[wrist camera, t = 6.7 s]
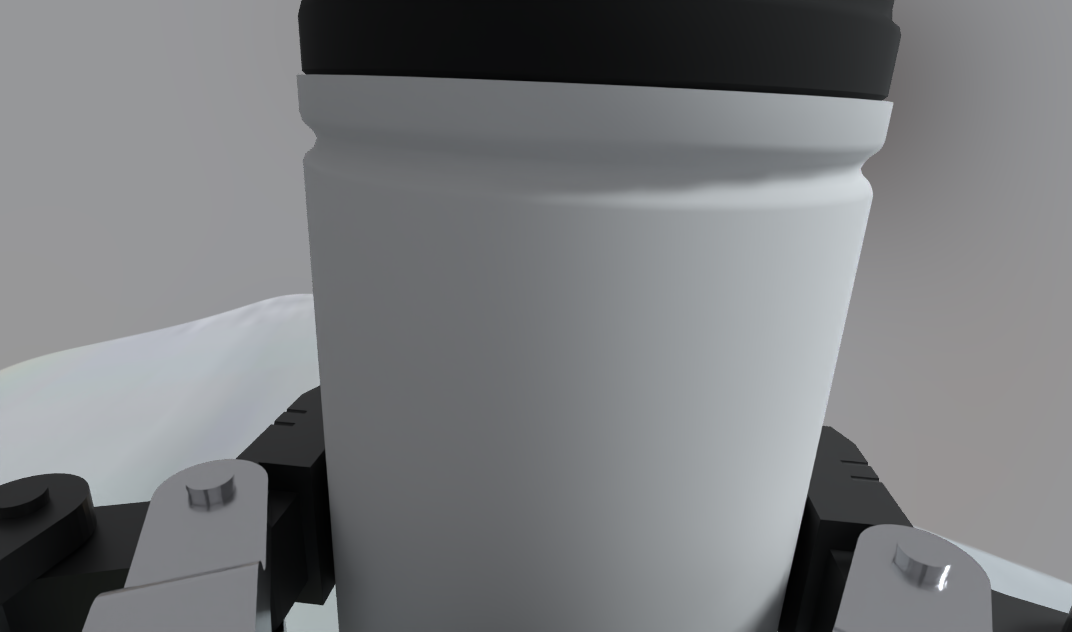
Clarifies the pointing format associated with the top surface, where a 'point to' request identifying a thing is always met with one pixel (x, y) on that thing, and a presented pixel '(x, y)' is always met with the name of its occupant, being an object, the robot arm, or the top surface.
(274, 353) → the top surface
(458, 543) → the travel mug
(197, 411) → the top surface
